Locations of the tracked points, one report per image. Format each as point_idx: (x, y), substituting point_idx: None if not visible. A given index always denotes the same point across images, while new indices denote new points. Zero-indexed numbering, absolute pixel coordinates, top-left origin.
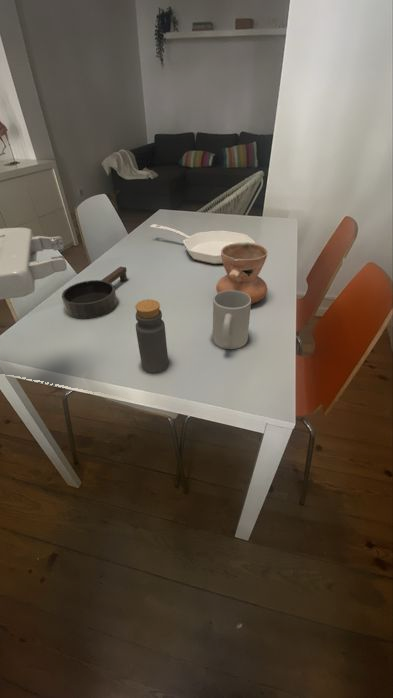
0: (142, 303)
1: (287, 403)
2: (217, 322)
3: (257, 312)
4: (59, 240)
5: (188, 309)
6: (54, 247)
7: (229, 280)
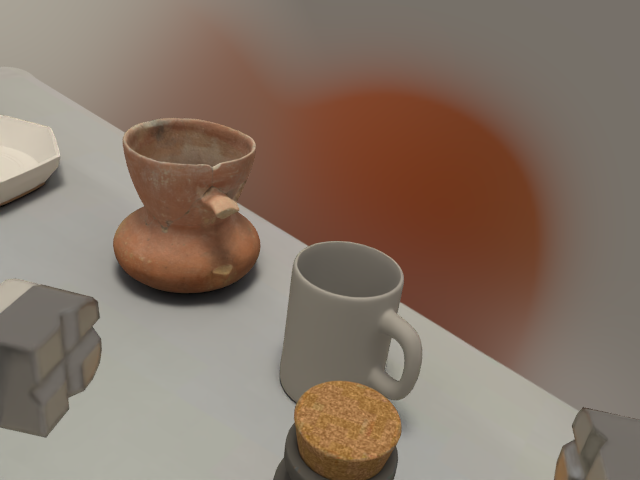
0: (322, 423)
1: None
2: (349, 350)
3: (273, 285)
4: (82, 312)
5: (112, 369)
6: (52, 403)
7: (177, 232)
